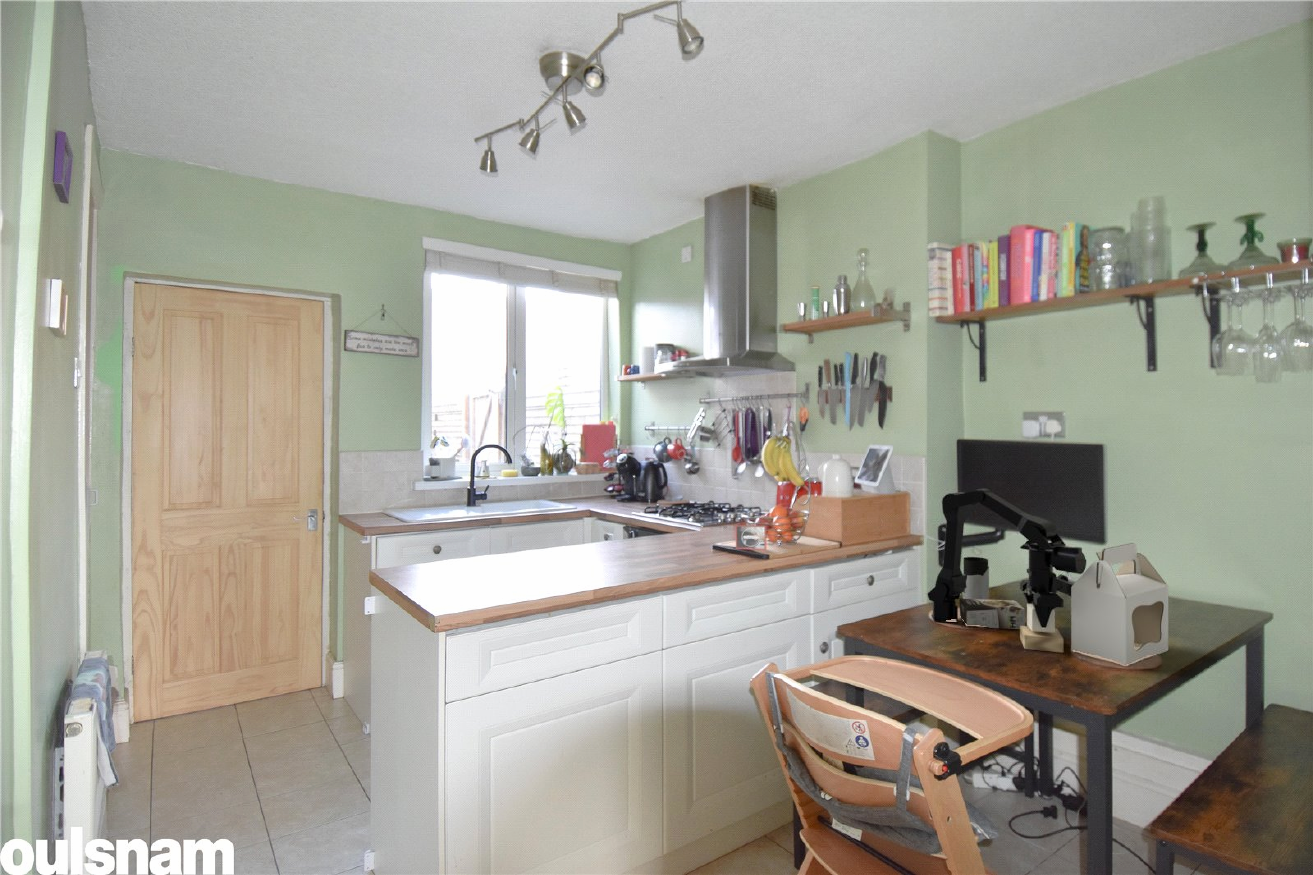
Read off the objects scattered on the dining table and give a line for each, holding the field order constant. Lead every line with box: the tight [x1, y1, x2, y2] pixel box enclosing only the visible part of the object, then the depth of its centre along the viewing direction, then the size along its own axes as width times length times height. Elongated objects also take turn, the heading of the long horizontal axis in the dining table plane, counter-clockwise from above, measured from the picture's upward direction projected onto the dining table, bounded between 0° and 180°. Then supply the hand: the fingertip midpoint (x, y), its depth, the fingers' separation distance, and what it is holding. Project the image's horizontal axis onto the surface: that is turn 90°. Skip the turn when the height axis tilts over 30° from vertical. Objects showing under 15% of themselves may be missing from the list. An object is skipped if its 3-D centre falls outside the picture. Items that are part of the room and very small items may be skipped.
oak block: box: [1019, 625, 1064, 653], centre depth 182 cm, size 9×9×4 cm
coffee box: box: [958, 598, 1026, 630], centre depth 201 cm, size 9×6×16 cm
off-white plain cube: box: [1026, 603, 1056, 633], centre depth 182 cm, size 5×5×6 cm
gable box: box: [1070, 542, 1169, 665], centre depth 176 cm, size 22×13×28 cm, turn 120°
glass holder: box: [960, 556, 990, 600], centre depth 224 cm, size 9×14×15 cm, turn 67°
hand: (1040, 624), depth 182 cm, fingers closed on off-white plain cube, 5 cm apart
